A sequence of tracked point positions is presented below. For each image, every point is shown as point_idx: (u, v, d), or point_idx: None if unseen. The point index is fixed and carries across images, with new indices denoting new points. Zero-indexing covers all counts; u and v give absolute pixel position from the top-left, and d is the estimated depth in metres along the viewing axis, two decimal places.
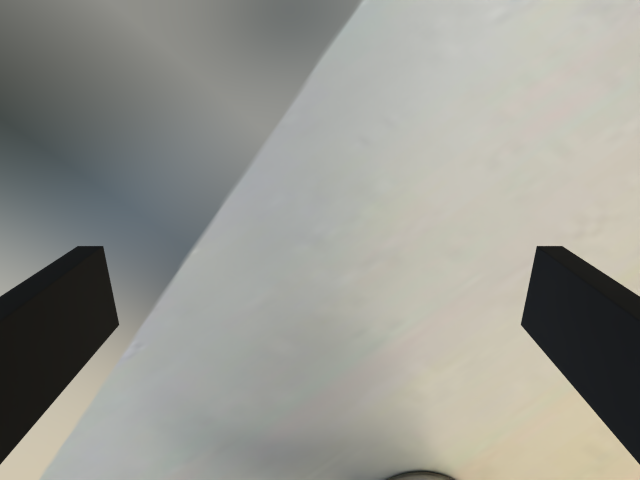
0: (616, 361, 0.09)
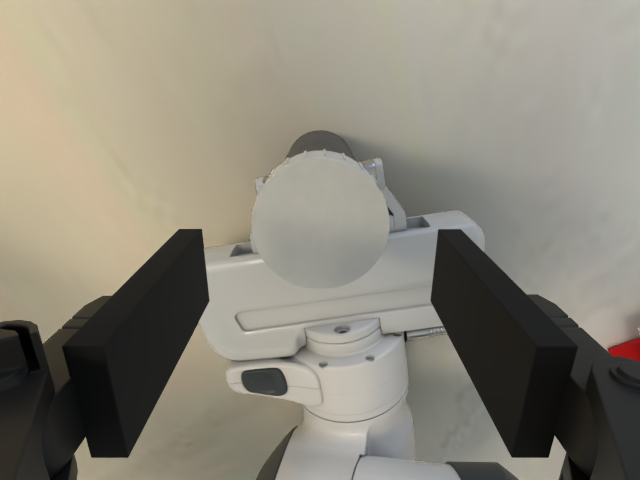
0: (475, 322, 0.10)
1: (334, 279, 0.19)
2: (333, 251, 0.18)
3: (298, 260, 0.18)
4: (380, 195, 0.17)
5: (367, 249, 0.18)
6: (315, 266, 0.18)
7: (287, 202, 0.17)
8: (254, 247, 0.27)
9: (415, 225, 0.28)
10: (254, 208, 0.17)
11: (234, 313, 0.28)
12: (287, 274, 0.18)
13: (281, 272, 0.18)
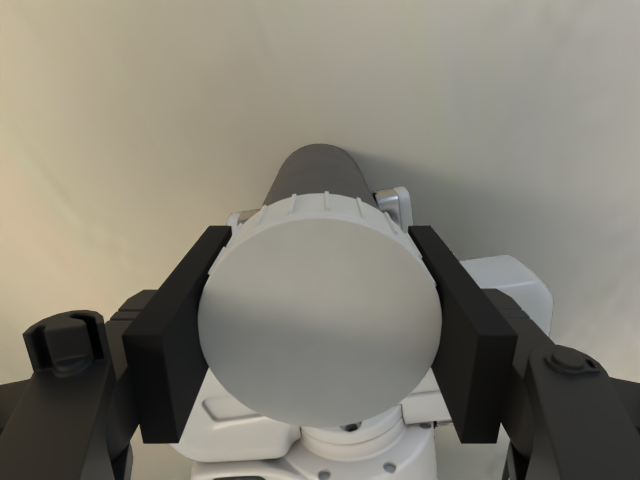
0: None
1: (343, 413, 0.11)
2: (342, 371, 0.10)
3: (281, 385, 0.11)
4: (428, 281, 0.09)
5: (401, 367, 0.10)
6: (311, 393, 0.11)
7: (260, 292, 0.10)
8: None
9: None
10: (201, 302, 0.10)
11: (201, 399, 0.20)
12: (263, 405, 0.11)
13: (253, 403, 0.11)
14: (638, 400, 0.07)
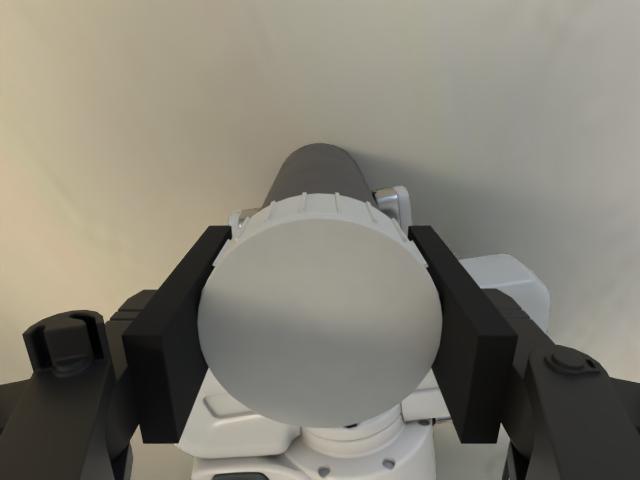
0: None
1: (422, 307, 0.10)
2: (365, 311, 0.10)
3: (382, 365, 0.10)
4: (249, 241, 0.09)
5: (360, 253, 0.09)
6: (395, 338, 0.10)
7: (278, 382, 0.10)
8: None
9: None
10: (293, 424, 0.11)
11: (202, 396, 0.20)
12: (409, 379, 0.10)
13: (405, 389, 0.11)
14: (638, 400, 0.07)
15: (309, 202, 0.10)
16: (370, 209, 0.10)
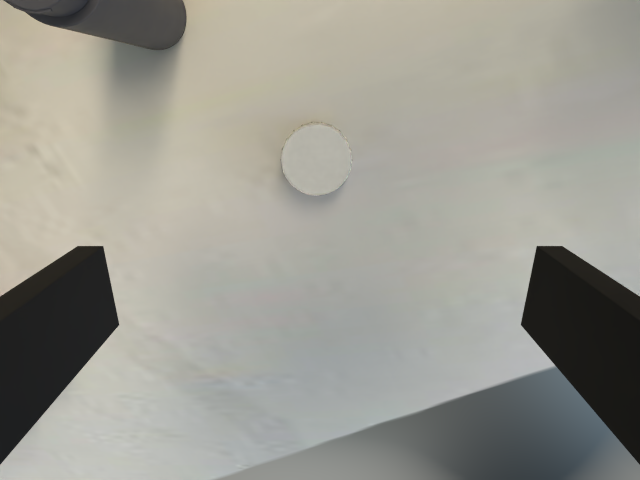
0: (616, 361, 0.09)
1: (345, 152, 0.34)
2: (329, 153, 0.34)
3: (335, 171, 0.35)
4: (297, 131, 0.34)
5: (327, 135, 0.34)
6: (338, 162, 0.35)
7: (304, 178, 0.35)
8: None
9: None
10: (308, 193, 0.36)
11: None
12: (343, 177, 0.35)
13: (342, 180, 0.35)
14: None
15: (313, 123, 0.35)
16: (331, 125, 0.35)
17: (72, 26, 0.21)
